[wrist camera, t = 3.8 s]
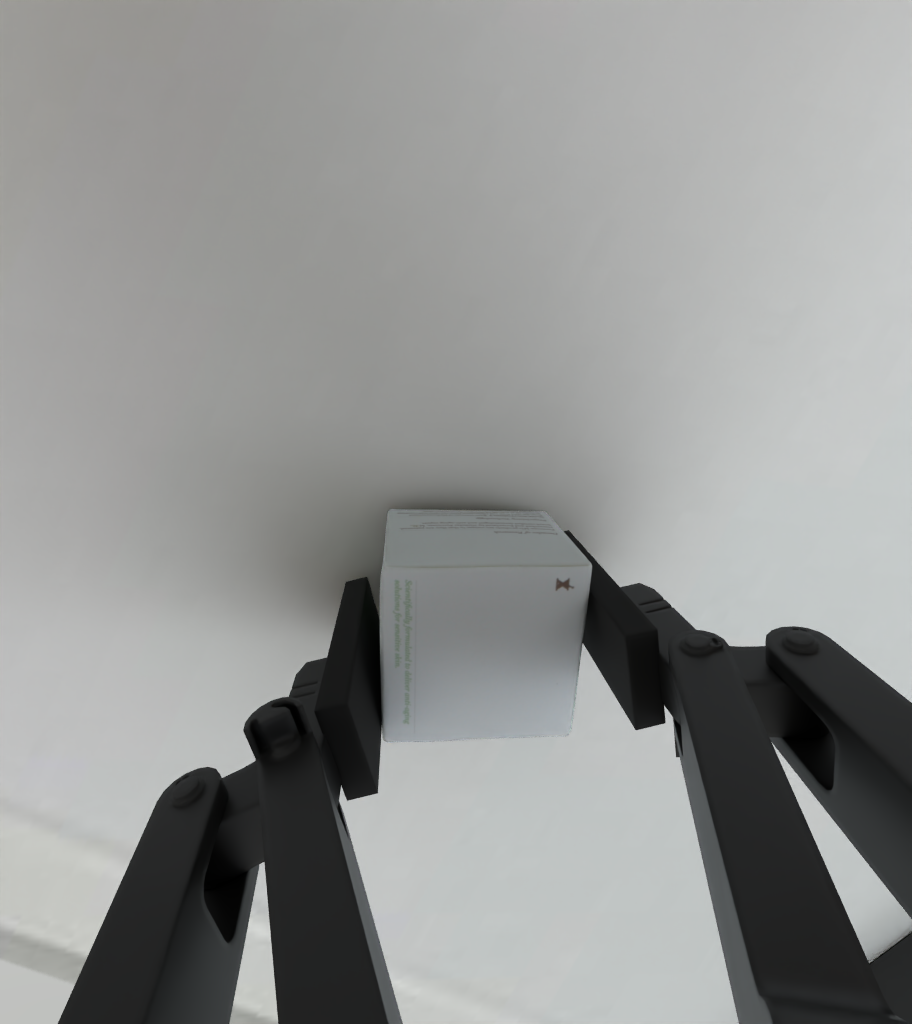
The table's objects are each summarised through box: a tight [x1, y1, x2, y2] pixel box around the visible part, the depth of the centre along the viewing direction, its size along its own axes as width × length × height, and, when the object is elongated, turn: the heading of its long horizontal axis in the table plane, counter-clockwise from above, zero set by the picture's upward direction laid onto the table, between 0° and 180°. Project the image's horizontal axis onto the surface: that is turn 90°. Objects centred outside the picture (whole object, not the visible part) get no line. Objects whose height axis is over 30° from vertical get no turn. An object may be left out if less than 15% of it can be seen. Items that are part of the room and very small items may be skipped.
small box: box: [380, 509, 592, 742], centre depth 16 cm, size 6×6×5 cm
